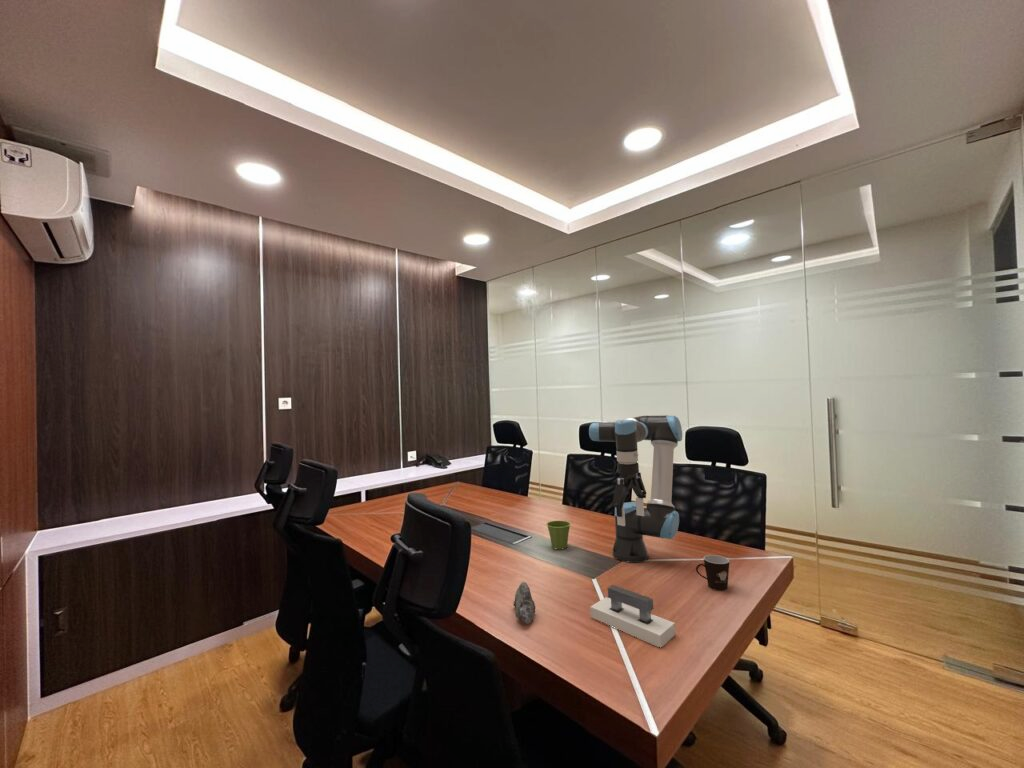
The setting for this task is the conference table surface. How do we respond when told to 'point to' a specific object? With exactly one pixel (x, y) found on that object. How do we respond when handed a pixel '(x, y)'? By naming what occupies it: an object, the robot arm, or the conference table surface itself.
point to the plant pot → (559, 533)
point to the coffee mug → (716, 571)
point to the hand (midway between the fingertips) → (631, 520)
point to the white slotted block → (634, 623)
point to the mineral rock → (524, 603)
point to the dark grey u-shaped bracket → (631, 602)
